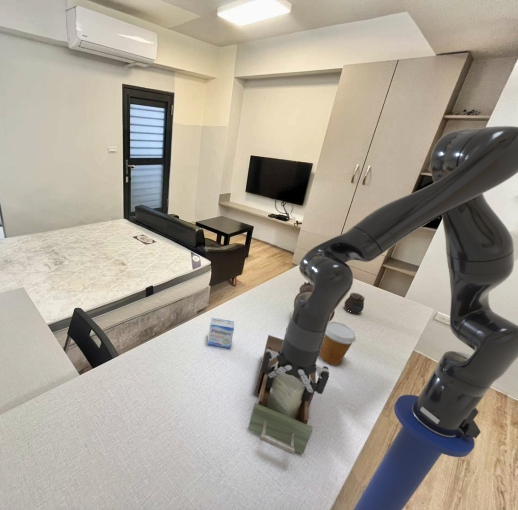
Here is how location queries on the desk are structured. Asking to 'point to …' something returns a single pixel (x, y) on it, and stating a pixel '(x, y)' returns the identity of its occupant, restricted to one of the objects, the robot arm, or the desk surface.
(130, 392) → the desk surface
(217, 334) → the medicine box
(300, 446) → the drawer
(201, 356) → the desk surface
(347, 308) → the mate gourd
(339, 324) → the disposable coffee cup
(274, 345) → the cabinet
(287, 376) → the cosmetic box
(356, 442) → the desk surface
